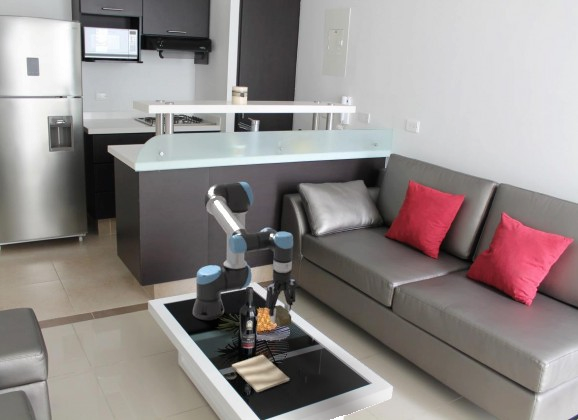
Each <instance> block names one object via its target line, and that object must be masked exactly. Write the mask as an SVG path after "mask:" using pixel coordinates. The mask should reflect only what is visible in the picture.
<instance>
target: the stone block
mask: <svg viewBox="0 0 578 420" xmlns="http://www.w3.org/2000/svg"><path fill="white" fill-rule="evenodd" d="M275 309H276V322H275V324H276V325H277V326H278V327H280V328H282V327H288V326H291V325H292V315H291V313H290V312H289V313H288V312H287V311H286V310H285V309H284V306H283V305H280V304H279V305H275ZM269 310H270V309H268V311H269ZM268 316H269V317H271V316H270V314H269V313H268Z"/></svg>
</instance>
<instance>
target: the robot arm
mask: <svg viewBox="0 0 578 420" xmlns="http://www.w3.org/2000/svg"><path fill="white" fill-rule="evenodd" d="M253 203H254V192H253V191H252V188H251V186H250V185H249V183H248V182H245V181H233V182H224V183H216V184H213V185H211V186H210V187H208V189H206V191H205V193H204V195H203V206H204V209H205V210H206V211H207V213H208V214H210V215H212V216H213V217H214V218H215V220H216V221H217V223H218V224H219V226H220V227H221V228H222V229H223V231H224V232H225V234H226V260H225V261H224V262H223V266H222V267H220V266H218V265H213V264H210V265H206V266H202V267H201V268H199V270H198V271H197V273H196V278H195V282H196V299H195V302H194V304H193V308H192V315H193V316H194V317H195V318H196V319H198V320H201V321H214V319H215V320H218V319H219V318H218V317H219V316H222V315H223V314H224V313H225V307H224V305H223V301H222V297H221V296H222V295H221V294H222V293H225V292H226V293H227V292H231V291H232V292H233V291H236V290H237V291H239V290H242V289H246V288H248V287H249V286H250V284H251V281H252V277H253V276H252V269H251V267H250V265H248V262H247V261H246V260H245V253H250V252H251V253H252V252H257V251H265V250H271V251H272V252H273V264H272V266H273V267H272V268H273V269H272V280H273V281H272V284H270V285H269V284H267V285H266V286H265V287H266V297H265V308H267V309H268V315H269V314H270V316H271V317H270V316H269V317H270V318H269V319H270V320H269V321H270V322H271V323H273V324H276V323H275V322H276V309H275V306H277V305H276V304H277V302H278V299H279V295H281V292H283V294H284V298H285V302H284V306H283V307H284V309H285V310H286V311H287V312H288V313H289V314H290V312H291V310H292V306H293V305H294V304H293V303H295V302H296V285H297V281H296V280H295V279H294V278H292V267H293V250H294V236H293V234H292V233H291V232H287V231H277V230H276V229H273V228H271V227H265V228H263V229H261V230H260V231H258V232H248V231H247V229H246V214H247V213H248V212H249V207H251V206H252V205H253ZM269 309H270V310H269ZM224 315H225V314H224ZM224 315H223V316H224ZM223 316H222V317H223ZM217 318H218V319H217Z"/></svg>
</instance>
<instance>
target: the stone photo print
mask: <svg viewBox="0 0 578 420" xmlns="http://www.w3.org/2000/svg"><path fill="white" fill-rule="evenodd" d="M231 368H232V369H234V371H235V372H237V374H239V376H241V378H242V379H243V380H245V382H246V383H248V385H250V387H252V388H253V390H254V391H255V392H256V393H260V392H263V391H265V390H268V389H270V388H273V387H276V386H279V385H281V384H283V383H287V382H289V381H290V377H289V376H287V375H286V374H285V373H284V372H283V371H282V370H281V369H279V368H278V367H277V366H276V365H275V364H274V363H273V362H271V360H269V359H268V358H267V357H266V356H265V355H264V354H260V355H258V356H253V357H251V358H248V359H245V360H242V361H238V362H236V363H233V364H231Z"/></svg>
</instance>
